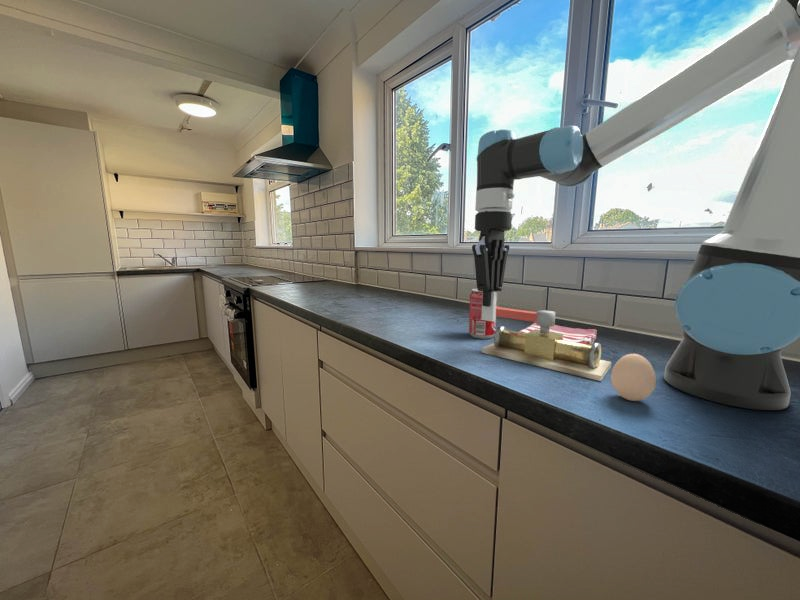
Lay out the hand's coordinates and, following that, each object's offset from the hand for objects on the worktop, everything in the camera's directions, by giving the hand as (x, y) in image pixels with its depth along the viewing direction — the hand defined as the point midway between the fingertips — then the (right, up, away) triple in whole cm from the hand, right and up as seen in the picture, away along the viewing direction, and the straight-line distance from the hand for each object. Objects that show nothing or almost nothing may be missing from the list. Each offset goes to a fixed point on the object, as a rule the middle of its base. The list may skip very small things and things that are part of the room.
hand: (488, 320), depth 71 cm
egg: (+17, -12, -20) cm, 29 cm away
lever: (+7, -2, +1) cm, 7 cm away
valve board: (+12, -8, -1) cm, 14 cm away
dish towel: (+20, -6, +11) cm, 23 cm away
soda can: (+3, -6, +17) cm, 18 cm away
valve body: (+12, -8, -1) cm, 14 cm away
